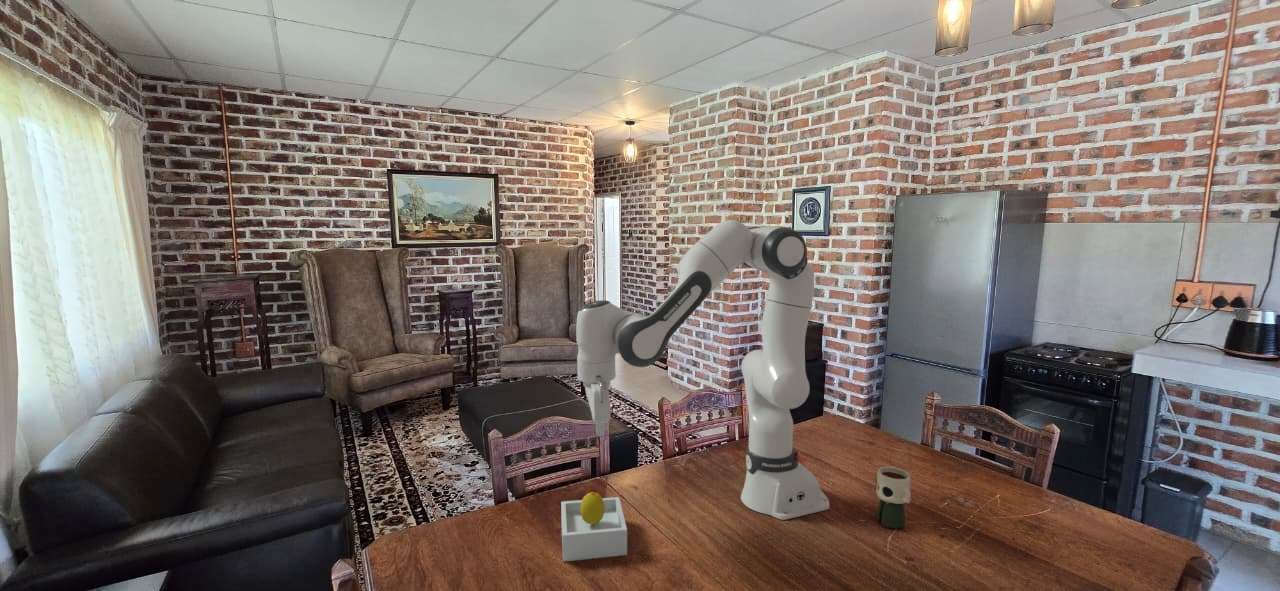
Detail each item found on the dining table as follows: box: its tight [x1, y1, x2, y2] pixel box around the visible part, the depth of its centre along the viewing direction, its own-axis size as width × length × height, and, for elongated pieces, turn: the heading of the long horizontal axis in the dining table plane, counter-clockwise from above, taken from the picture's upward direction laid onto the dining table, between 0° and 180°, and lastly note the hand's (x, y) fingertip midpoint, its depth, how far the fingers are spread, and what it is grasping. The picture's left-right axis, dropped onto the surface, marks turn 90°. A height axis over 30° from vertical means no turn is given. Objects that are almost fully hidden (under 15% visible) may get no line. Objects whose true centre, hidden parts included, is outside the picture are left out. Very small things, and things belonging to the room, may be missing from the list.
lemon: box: [580, 491, 605, 525], centre depth 120 cm, size 6×6×8 cm
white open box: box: [560, 496, 628, 563], centre depth 120 cm, size 14×14×6 cm
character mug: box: [875, 466, 912, 529], centre depth 126 cm, size 11×7×13 cm, turn 14°
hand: (598, 427), depth 123 cm, fingers open, 8 cm apart
